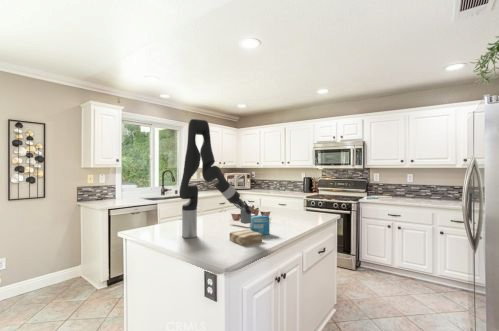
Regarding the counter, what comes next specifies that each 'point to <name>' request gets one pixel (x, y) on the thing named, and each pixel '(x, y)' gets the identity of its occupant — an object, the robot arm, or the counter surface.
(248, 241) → the oak block
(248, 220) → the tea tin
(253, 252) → the counter surface
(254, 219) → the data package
